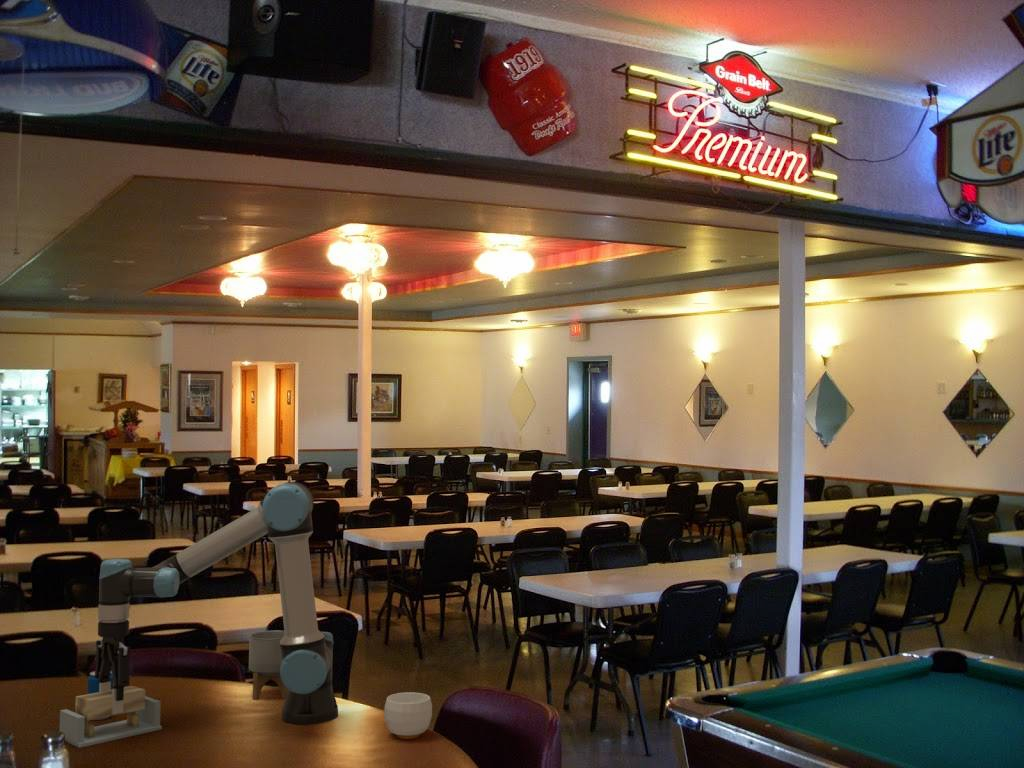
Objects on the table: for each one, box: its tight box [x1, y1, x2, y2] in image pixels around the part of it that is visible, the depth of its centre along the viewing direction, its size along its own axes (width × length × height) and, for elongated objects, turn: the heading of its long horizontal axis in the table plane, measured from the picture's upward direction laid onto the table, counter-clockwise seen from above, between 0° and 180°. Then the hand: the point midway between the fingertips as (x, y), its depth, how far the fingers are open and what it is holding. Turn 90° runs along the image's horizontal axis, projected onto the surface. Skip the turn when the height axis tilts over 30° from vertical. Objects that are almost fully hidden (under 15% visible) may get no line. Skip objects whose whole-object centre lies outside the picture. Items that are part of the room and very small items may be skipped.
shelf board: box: [74, 685, 146, 722], centre depth 266 cm, size 6×16×5 cm, turn 142°
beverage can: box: [87, 670, 114, 721], centre depth 280 cm, size 6×6×12 cm
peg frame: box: [59, 695, 163, 748], centre depth 266 cm, size 12×22×7 cm, turn 138°
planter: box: [248, 629, 289, 701], centre depth 306 cm, size 13×13×18 cm
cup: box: [383, 691, 433, 740], centre depth 267 cm, size 12×12×10 cm
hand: (110, 710), depth 266 cm, fingers closed on shelf board, 6 cm apart
